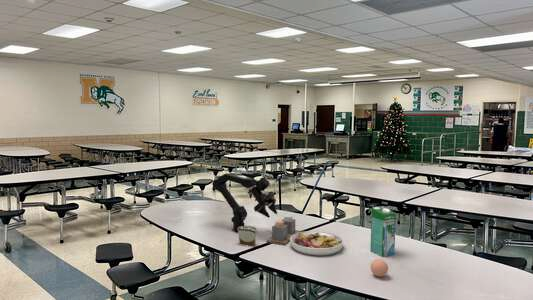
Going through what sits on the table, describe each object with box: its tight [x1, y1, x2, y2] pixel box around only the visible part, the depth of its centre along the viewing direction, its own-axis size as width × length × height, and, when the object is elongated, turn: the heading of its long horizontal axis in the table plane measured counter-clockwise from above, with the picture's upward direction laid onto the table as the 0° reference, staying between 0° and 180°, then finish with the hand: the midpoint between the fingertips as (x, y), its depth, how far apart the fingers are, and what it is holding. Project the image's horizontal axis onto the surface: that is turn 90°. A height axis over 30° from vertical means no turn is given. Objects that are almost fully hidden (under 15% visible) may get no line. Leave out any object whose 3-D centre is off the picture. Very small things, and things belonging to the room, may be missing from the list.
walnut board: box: [265, 229, 301, 246], centre depth 226 cm, size 26×12×1 cm, turn 155°
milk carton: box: [369, 205, 397, 258], centre depth 200 cm, size 9×9×25 cm
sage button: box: [283, 214, 293, 221], centre depth 231 cm, size 4×4×3 cm
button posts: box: [271, 218, 296, 241], centre depth 226 cm, size 21×7×8 cm, turn 155°
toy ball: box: [370, 258, 389, 278], centre depth 171 cm, size 8×8×8 cm
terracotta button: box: [275, 220, 284, 227], centre depth 219 cm, size 4×4×3 cm
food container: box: [237, 225, 258, 248], centre depth 214 cm, size 12×6×10 cm, turn 65°
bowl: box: [289, 230, 344, 256], centre depth 209 cm, size 30×30×8 cm
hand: (273, 215), depth 225 cm, fingers open, 9 cm apart
